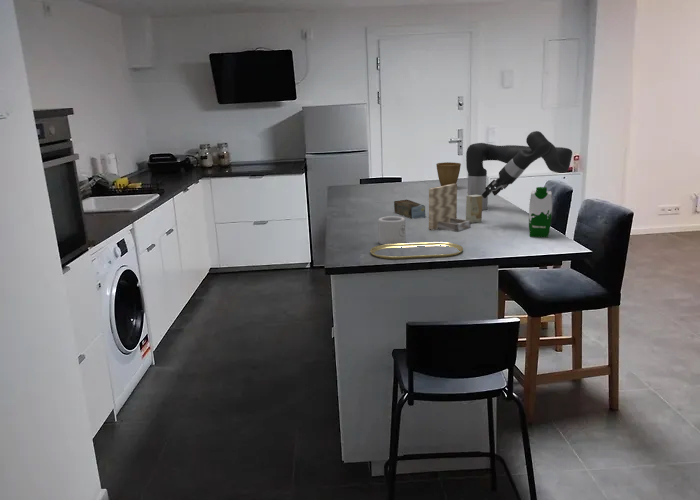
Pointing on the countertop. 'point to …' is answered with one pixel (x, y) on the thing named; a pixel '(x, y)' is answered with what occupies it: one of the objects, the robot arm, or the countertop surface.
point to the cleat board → (445, 209)
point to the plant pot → (448, 172)
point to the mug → (391, 230)
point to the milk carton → (540, 212)
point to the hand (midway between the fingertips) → (488, 195)
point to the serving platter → (415, 246)
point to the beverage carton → (409, 208)
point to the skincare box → (474, 208)
